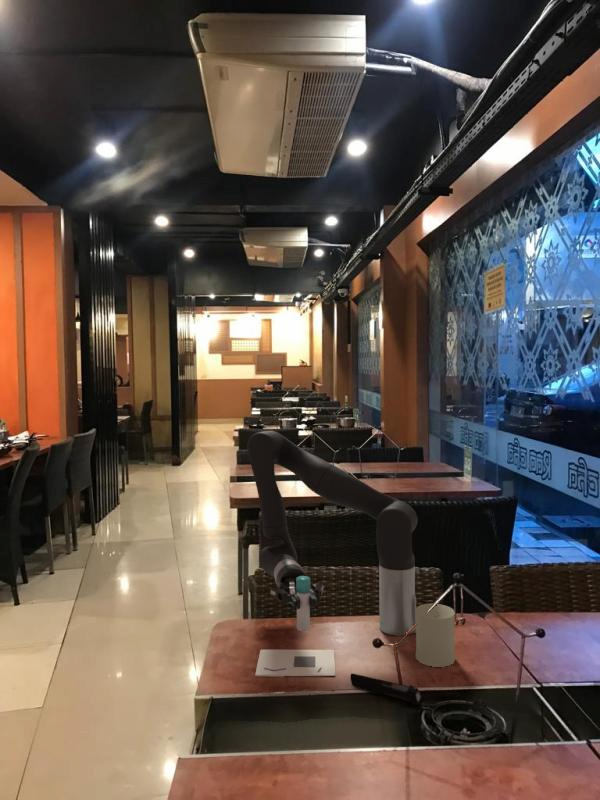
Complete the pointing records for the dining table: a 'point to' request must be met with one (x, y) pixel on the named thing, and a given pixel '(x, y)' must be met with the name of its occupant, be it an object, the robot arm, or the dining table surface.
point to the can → (435, 635)
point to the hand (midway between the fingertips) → (306, 604)
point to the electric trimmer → (387, 688)
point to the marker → (303, 603)
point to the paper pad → (296, 663)
